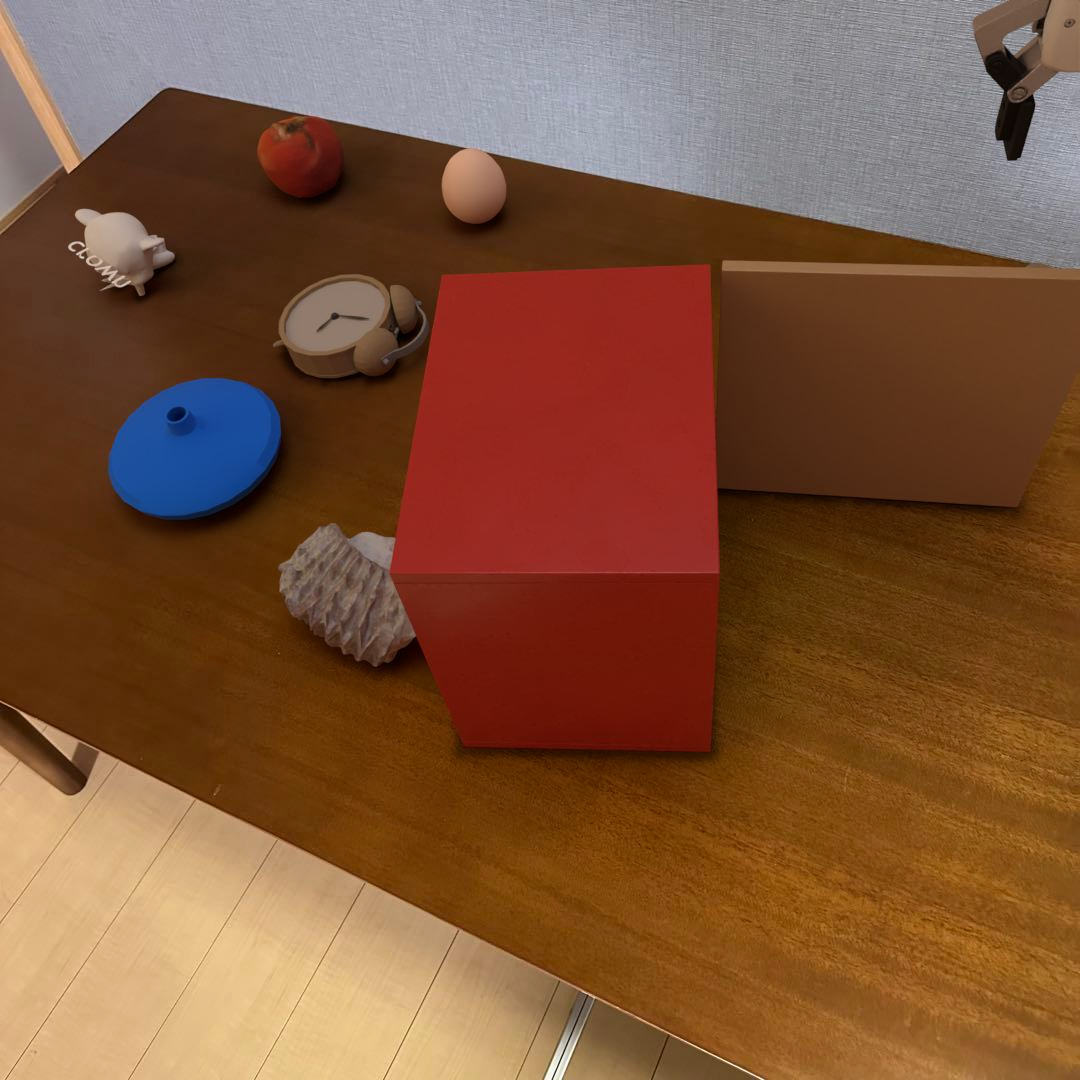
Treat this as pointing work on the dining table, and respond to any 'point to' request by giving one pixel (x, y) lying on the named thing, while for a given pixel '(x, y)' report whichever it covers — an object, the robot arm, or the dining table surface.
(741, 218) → the dining table surface
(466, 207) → the egg
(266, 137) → the tomato
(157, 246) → the figurine
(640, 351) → the box
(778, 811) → the dining table surface
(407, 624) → the seashell
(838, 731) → the dining table surface
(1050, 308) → the door
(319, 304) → the alarm clock
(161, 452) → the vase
